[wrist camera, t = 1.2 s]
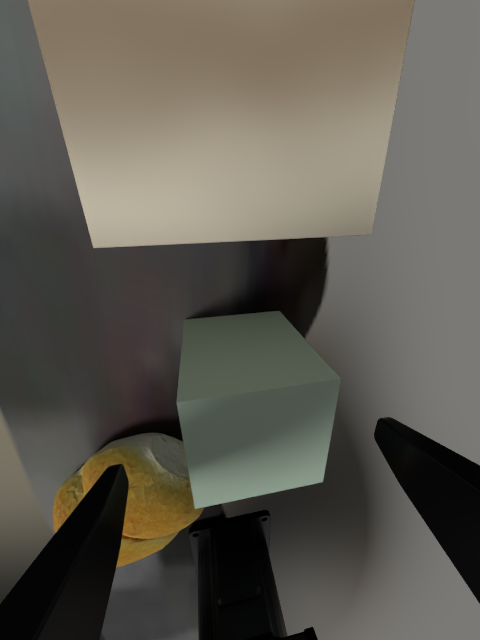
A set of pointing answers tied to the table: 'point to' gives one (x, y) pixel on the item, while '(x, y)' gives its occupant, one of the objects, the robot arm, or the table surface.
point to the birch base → (224, 114)
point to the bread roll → (139, 491)
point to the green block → (252, 407)
